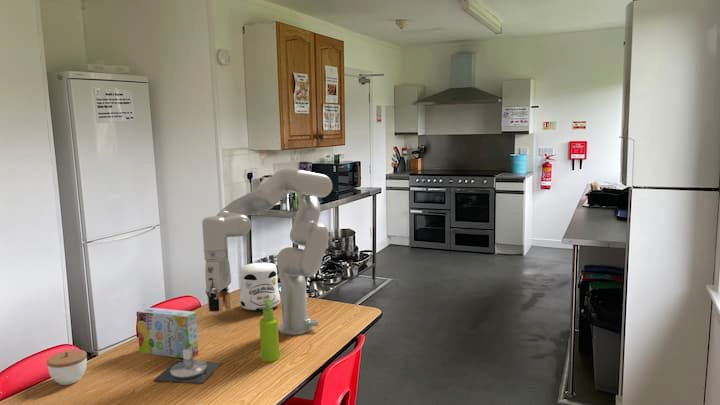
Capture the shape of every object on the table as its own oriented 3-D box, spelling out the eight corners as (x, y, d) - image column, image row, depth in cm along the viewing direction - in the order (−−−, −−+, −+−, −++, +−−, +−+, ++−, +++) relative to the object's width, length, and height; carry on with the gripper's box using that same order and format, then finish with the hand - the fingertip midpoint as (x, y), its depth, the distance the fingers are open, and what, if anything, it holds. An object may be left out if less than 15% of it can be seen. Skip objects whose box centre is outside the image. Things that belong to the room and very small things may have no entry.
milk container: (261, 317, 212) (258, 274, 210) (231, 310, 222) (228, 269, 219) (289, 304, 227) (287, 264, 224) (260, 298, 236) (257, 260, 234)
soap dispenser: (265, 364, 169) (262, 305, 166) (259, 356, 175) (256, 299, 172) (282, 360, 171) (280, 301, 168) (276, 352, 177) (273, 296, 175)
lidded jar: (95, 371, 167) (92, 343, 166) (78, 388, 156) (75, 358, 155) (61, 373, 167) (58, 345, 165) (42, 389, 156) (38, 359, 155)
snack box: (199, 353, 179) (196, 311, 177) (189, 360, 174) (186, 316, 172) (149, 346, 186) (146, 306, 184) (138, 353, 181) (134, 311, 178)
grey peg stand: (222, 363, 170) (220, 341, 169) (202, 383, 157) (201, 359, 156) (176, 361, 173) (174, 339, 172) (153, 381, 159) (151, 357, 158)
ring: (233, 305, 175) (232, 291, 175) (225, 312, 168) (224, 297, 168) (214, 305, 176) (213, 290, 176) (204, 312, 169) (203, 297, 169)
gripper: (215, 260, 161) (219, 316, 163) (237, 248, 178) (240, 298, 180) (192, 260, 162) (196, 315, 164) (216, 248, 179) (219, 298, 181)
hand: (219, 306), depth 172 cm, fingers closed on ring, 7 cm apart
